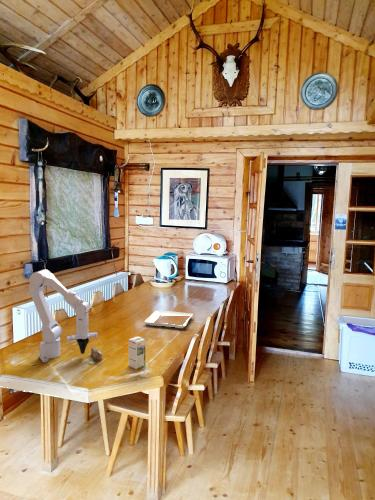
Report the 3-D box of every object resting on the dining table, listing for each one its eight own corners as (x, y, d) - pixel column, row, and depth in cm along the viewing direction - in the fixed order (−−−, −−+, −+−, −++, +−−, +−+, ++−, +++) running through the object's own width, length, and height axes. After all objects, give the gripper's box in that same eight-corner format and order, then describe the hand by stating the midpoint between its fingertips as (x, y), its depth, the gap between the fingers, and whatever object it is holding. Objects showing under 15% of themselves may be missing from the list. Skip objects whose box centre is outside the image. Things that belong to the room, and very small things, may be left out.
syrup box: (136, 372, 171) (136, 341, 170) (128, 367, 175) (128, 338, 174) (145, 368, 176) (146, 338, 174) (137, 364, 180) (137, 335, 178)
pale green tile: (90, 361, 178) (90, 361, 178) (95, 362, 177) (95, 362, 177) (87, 363, 176) (87, 362, 176) (92, 364, 175) (92, 363, 175)
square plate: (155, 314, 263) (155, 309, 262) (193, 318, 257) (193, 313, 257) (143, 326, 236) (143, 320, 236) (185, 331, 231) (185, 325, 230)
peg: (97, 363, 175) (97, 354, 175) (87, 355, 185) (88, 346, 184) (105, 361, 178) (105, 352, 177) (96, 353, 187) (96, 344, 187)
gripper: (69, 331, 173) (69, 358, 175) (99, 326, 181) (99, 353, 182) (65, 326, 179) (65, 353, 181) (95, 322, 187) (95, 348, 188)
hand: (82, 353), depth 182 cm, fingers closed
